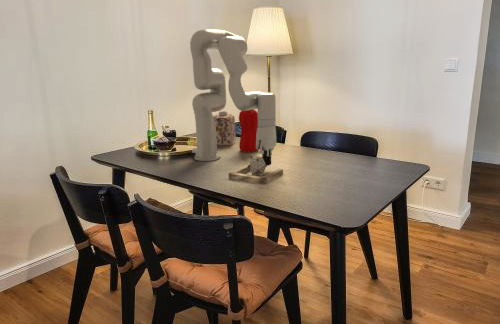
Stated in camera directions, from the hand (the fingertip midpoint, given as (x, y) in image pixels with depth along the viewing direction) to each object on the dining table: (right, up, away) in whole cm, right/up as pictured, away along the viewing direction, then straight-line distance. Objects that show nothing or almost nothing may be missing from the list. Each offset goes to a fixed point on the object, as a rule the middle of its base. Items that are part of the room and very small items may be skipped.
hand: (267, 164), depth 174 cm
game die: (-4, -5, -5) cm, 8 cm away
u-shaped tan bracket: (-4, -4, -6) cm, 9 cm away
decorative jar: (-22, +11, +54) cm, 60 cm away
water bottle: (-7, +7, +35) cm, 36 cm away
